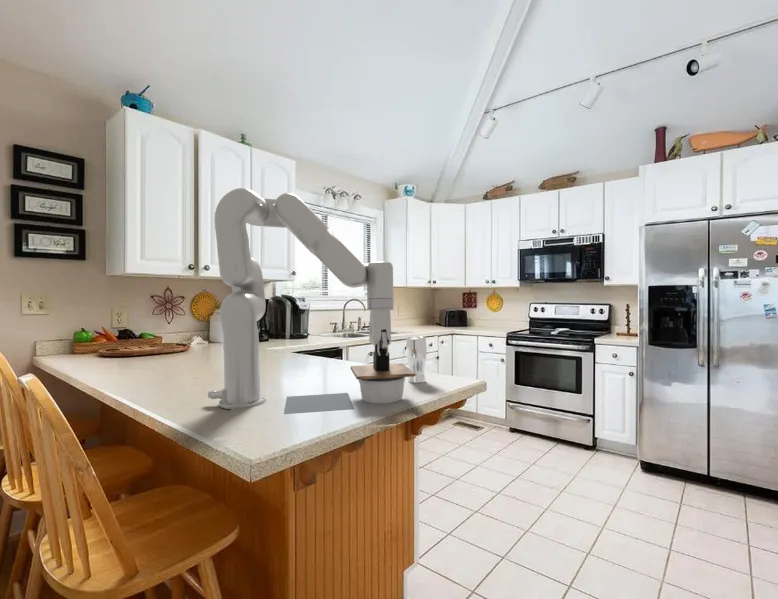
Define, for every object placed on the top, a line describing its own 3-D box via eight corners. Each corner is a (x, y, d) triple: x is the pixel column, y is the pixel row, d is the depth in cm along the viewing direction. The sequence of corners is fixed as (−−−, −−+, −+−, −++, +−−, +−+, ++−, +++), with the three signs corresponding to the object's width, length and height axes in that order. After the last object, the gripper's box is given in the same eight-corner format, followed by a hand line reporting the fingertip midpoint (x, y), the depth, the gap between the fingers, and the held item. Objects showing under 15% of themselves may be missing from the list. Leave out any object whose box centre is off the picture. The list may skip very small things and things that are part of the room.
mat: (283, 415, 107) (283, 413, 107) (286, 398, 124) (286, 396, 124) (354, 410, 110) (354, 408, 110) (347, 394, 128) (347, 392, 128)
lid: (357, 379, 111) (356, 357, 111) (350, 368, 127) (350, 349, 127) (415, 376, 114) (415, 355, 114) (402, 366, 130) (402, 347, 130)
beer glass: (427, 383, 141) (427, 338, 141) (406, 383, 141) (406, 339, 141) (426, 379, 148) (425, 336, 148) (406, 379, 148) (405, 336, 148)
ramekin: (367, 408, 112) (366, 382, 112) (353, 397, 125) (353, 374, 124) (412, 403, 117) (412, 378, 117) (394, 392, 129) (394, 370, 129)
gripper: (363, 304, 128) (364, 364, 128) (372, 306, 111) (372, 375, 112) (387, 303, 129) (388, 363, 130) (399, 305, 113) (400, 373, 113)
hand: (381, 368), depth 121 cm, fingers closed on lid, 4 cm apart
